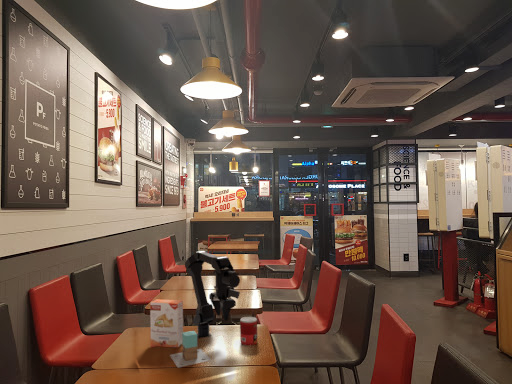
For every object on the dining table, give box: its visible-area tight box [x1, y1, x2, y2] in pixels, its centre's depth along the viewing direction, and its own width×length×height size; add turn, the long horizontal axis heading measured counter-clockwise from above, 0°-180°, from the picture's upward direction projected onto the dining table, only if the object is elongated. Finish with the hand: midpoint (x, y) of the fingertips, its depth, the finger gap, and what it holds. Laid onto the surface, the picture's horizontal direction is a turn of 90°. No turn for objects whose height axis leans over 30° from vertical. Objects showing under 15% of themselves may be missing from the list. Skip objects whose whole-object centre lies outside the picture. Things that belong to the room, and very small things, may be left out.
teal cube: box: [181, 330, 198, 348], centre depth 153 cm, size 5×5×5 cm
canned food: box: [239, 316, 258, 346], centre depth 171 cm, size 8×8×11 cm
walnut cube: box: [181, 345, 198, 361], centre depth 153 cm, size 5×5×5 cm
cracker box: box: [149, 298, 184, 348], centre depth 169 cm, size 14×6×21 cm, turn 76°
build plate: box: [169, 348, 212, 369], centre depth 153 cm, size 14×14×1 cm
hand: (222, 318), depth 169 cm, fingers open, 9 cm apart
